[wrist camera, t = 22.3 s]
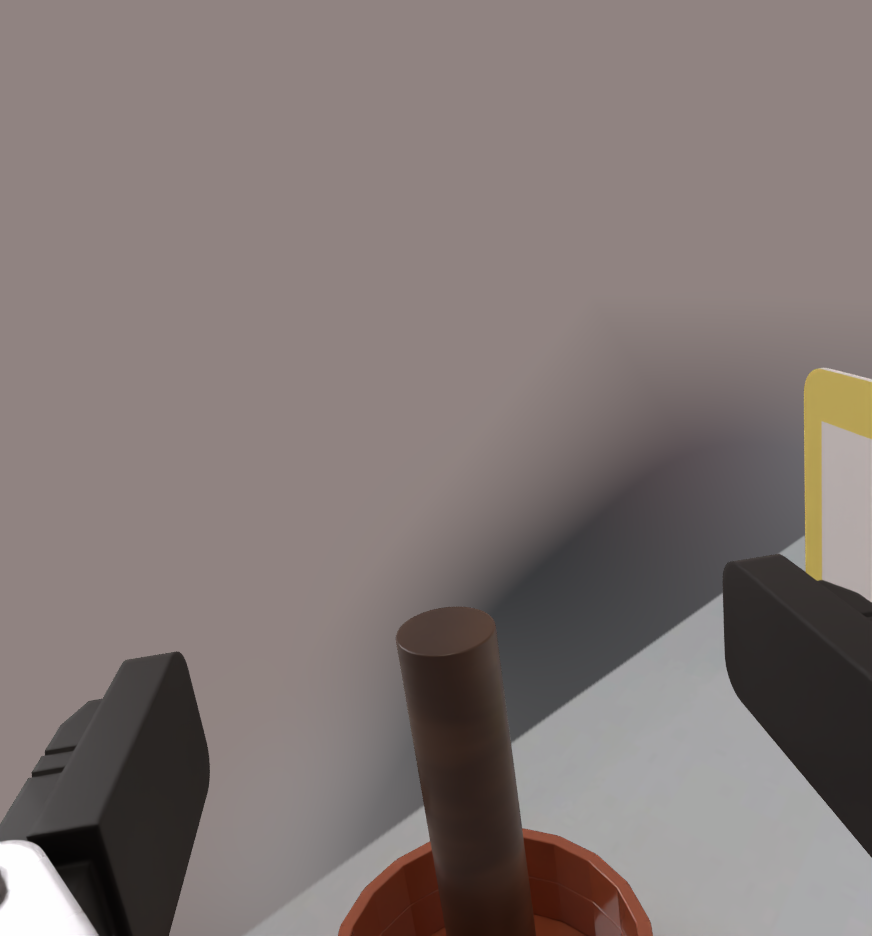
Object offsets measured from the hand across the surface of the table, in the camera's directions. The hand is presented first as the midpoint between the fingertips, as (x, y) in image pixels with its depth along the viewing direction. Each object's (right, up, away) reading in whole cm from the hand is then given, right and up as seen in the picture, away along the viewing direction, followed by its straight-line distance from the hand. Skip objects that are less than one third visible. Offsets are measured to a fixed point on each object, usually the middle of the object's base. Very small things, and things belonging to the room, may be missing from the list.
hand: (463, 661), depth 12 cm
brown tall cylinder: (+2, -17, +16) cm, 24 cm away
